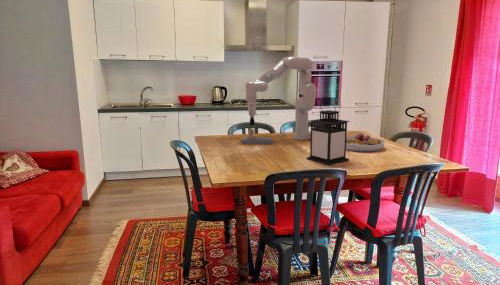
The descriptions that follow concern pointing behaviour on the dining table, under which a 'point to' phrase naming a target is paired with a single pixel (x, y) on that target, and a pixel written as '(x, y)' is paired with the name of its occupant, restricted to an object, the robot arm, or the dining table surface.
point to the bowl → (363, 143)
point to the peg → (251, 133)
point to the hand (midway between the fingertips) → (252, 124)
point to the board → (256, 140)
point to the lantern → (328, 139)
